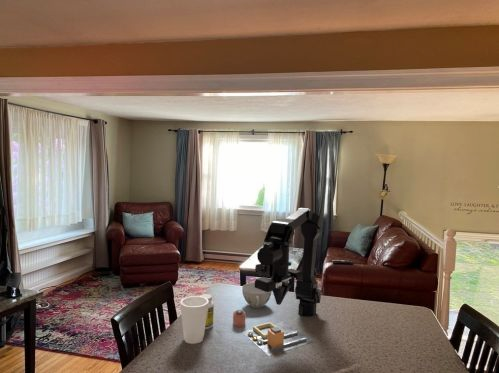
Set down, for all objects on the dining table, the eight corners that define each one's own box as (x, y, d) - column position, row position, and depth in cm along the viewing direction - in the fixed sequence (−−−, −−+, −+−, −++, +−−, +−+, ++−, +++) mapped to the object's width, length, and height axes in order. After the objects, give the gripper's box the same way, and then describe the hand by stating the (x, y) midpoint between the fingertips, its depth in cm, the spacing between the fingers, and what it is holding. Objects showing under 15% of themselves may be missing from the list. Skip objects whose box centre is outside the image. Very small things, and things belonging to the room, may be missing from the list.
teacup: (241, 299, 154) (242, 281, 153) (270, 300, 154) (271, 282, 153) (241, 314, 139) (241, 294, 138) (272, 315, 139) (273, 295, 138)
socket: (269, 325, 128) (269, 322, 128) (281, 333, 122) (281, 330, 122) (253, 329, 124) (253, 326, 124) (264, 338, 118) (264, 335, 118)
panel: (283, 323, 132) (283, 319, 132) (313, 344, 117) (313, 339, 117) (241, 334, 123) (241, 329, 123) (268, 358, 108) (268, 353, 108)
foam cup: (212, 335, 121) (213, 298, 120) (200, 348, 112) (201, 309, 112) (188, 330, 124) (188, 294, 123) (174, 342, 116) (174, 304, 115)
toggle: (277, 340, 117) (277, 325, 117) (283, 345, 114) (284, 330, 114) (267, 343, 115) (267, 328, 115) (273, 348, 112) (273, 332, 112)
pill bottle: (210, 330, 124) (210, 300, 123) (193, 328, 125) (194, 298, 125) (215, 323, 130) (216, 294, 130) (199, 321, 132) (200, 292, 131)
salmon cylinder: (241, 322, 131) (241, 308, 131) (247, 327, 128) (247, 312, 127) (230, 325, 129) (231, 310, 129) (236, 330, 125) (237, 315, 125)
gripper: (279, 249, 129) (278, 290, 130) (243, 258, 116) (241, 304, 117) (304, 256, 121) (302, 300, 122) (268, 266, 108) (266, 315, 109)
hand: (278, 304), depth 118 cm, fingers closed
